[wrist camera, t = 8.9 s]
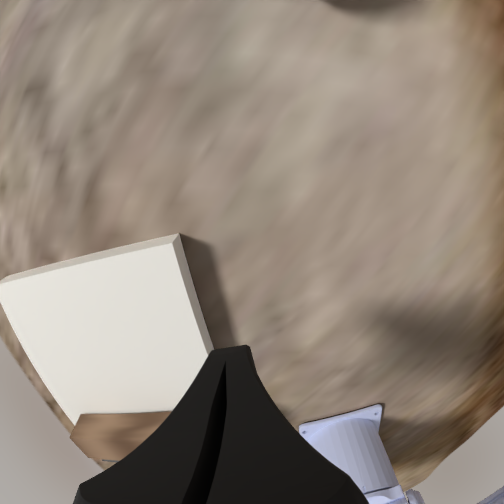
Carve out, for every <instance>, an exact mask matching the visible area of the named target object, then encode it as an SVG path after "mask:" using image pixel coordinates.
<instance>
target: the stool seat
mask: <svg viewBox="0 0 504 504" xmlns="http://www.w3.org/2000/svg"><path fill="white" fill-rule="evenodd" d="M0 302H1V304H2V307H3V309H4V311H5V313H6V315H7V317H8V319H9V322H10V324H11V326H12V328H13V330H14V332H15V334H16V335H17V337H18V339H19V341H20V343H21V345H22V347H23V349H24V350H25V352H26V354H27V356H28V357H29V359H30V361H31V362H32V364H33V366H34V367H35V369H36V371H37V372H38V374H39V376H40V377H41V379H42V380H43V382H44V383H45V385H46V386H47V388H48V389H49V391H50V392H51V394H52V395H53V397H54V398H55V400H56V401H57V403H58V404H59V405H60V407H61V408H62V409H63V411H64V412H65V414H66V415H67V416H68V417H69V419H70V420H71V421H72V423H73V424H74V425H76V423H77V421H78V419H79V416H80V414H137V413H155V412H169V411H173V409H174V408H175V407H176V405H177V404H178V403H179V401H180V400H181V398H182V397H183V396H184V394H185V393H186V391H187V390H188V388H189V387H190V385H191V384H192V382H193V381H194V379H195V377H196V376H197V374H198V372H199V371H200V369H201V367H202V366H203V364H204V362H205V360H206V358H207V357H208V355H209V353H210V352H211V351H212V350H214V348H213V345H212V342H211V339H210V336H209V333H208V330H207V326H206V323H205V320H204V317H203V314H202V311H201V307H200V304H199V301H198V298H197V294H196V291H195V288H194V284H193V281H192V278H191V274H190V271H189V267H188V264H187V260H186V257H185V253H184V249H183V246H182V242H181V238H180V235H179V233H178V234H173V235H169V236H164V237H160V238H155V239H151V240H147V241H142V242H138V243H134V244H129V245H125V246H121V247H117V248H113V249H108V250H104V251H100V252H96V253H92V254H88V255H84V256H80V257H76V258H72V259H68V260H64V261H61V262H57V263H53V264H49V265H45V266H42V267H38V268H34V269H30V270H27V271H23V272H19V273H16V274H12V275H9V276H6V277H5V278H4V279H2V280H1V281H0ZM102 461H110V462H119V461H117V460H105V459H102Z"/></svg>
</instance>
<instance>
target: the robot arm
mask: <svg viewBox="0 0 504 504" xmlns="http://www.w3.org/2000/svg"><path fill="white" fill-rule="evenodd" d="M381 413H382V406H381V405H380V404H378V405H374V406H371V407H367V408H364V409H361V410H357V411H354V412H350V413H346V414H342V415H339V416H335V417H331V418H327V419H322V420H318V421H313V422H309V423H304V424H301V425H300V426H299V432H300V434H299V433H298V432H297V431H296V430H295V429H294V427H293V426H292V425H291V424H290V423H289V422H288V420H287V419H286V418H285V417H284V416H283V414H282V413H281V412H280V410H279V409H278V408H277V406H276V405H275V403H274V402H273V400H272V399H271V397H270V396H269V394H268V393H267V391H266V389H265V388H264V386H263V384H262V382H261V380H260V378H259V376H258V374H257V372H256V368H255V364H254V360H253V357H252V353H251V349H250V347H249V346H247V345H242V346H236V347H230V348H223V349H217V350H212V351H211V352H210V353H209V355H208V357H207V358H206V360H205V362H204V364H203V366H202V367H201V369H200V371H199V372H198V374H197V376H196V377H195V379H194V381H193V382H192V384H191V385H190V387H189V388H188V390H187V391H186V393H185V394H184V396H183V397H182V398H181V400H180V401H179V403H178V404H177V405H176V407H175V408H174V409H173V411H172V412H171V413H170V414H169V416H168V417H167V418H166V419H165V420H164V421H163V423H162V424H161V425H160V426H159V427H158V428H157V429H156V430H155V431H154V432H153V433H152V434H151V435H150V436H149V437H148V438H147V439H146V440H145V441H143V442H142V443H141V444H140V445H139V446H138V447H137V448H136V449H134V450H133V451H132V452H131V453H129V454H128V455H127V456H126V457H124V458H123V459H122V460H120V461H119V462H117V463H116V464H114V465H113V466H111V467H110V468H108V469H107V470H105V471H103V472H102V473H100V474H98V475H96V476H95V477H93V478H91V479H89V480H87V481H85V482H83V483H81V484H80V485H79V488H78V490H77V493H76V496H75V500H74V502H73V504H408V503H409V504H425V503H424V500H423V498H422V496H421V494H420V492H418V491H415V490H414V491H413V490H412V489H409V490H408V491H406V495H407V498H408V503H407V501H406V498H405V496H404V493H403V490H402V488H401V485H399V483H398V480H397V478H396V475H395V473H394V470H393V468H392V465H391V463H390V460H389V458H388V455H387V453H386V451H385V448H384V446H383V443H382V441H381V438H380V436H379V434H378V432H379V426H380V420H381ZM477 504H504V486H503V487H502V488H500V489H499V490H497V491H496V492H494V493H493V494H491V495H490V496H488V497H487V498H485V499H484V500H482V501H481V502H479V503H477Z"/></svg>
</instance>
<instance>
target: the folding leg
mask: <svg viewBox="0 0 504 504" xmlns="http://www.w3.org/2000/svg"><path fill="white" fill-rule="evenodd" d="M171 412H172V411H169V412H155V413H137V414H80V416H79V419H78V421H77V423H76V425H75V427H74V429H73V431H72V433H71V435H70V439H71V440H72V441H73V442H74V443H75V444H76V445H77V446H78V447H79V448H80V449H81V450H82V452H83V453H84V454H85V455H86V456H87V457H88V458H95V459H105V460H117V461H120V460H122V459H123V458H124V457H126V456H127V455H128V454H129V453H131V452H132V451H133V450H134V449H136V448H137V447H138V446H139V445H140V444H141V443H142V442H143V441H145V440H146V439H147V438H148V437H149V436H150V435H151V434H152V433H153V432H154V431H155V430H156V429H157V428H158V427H159V426H160V425H161V424H162V423H163V421H164V420H165V419H166V418H167V417H168V416H169V414H170V413H171Z"/></svg>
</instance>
